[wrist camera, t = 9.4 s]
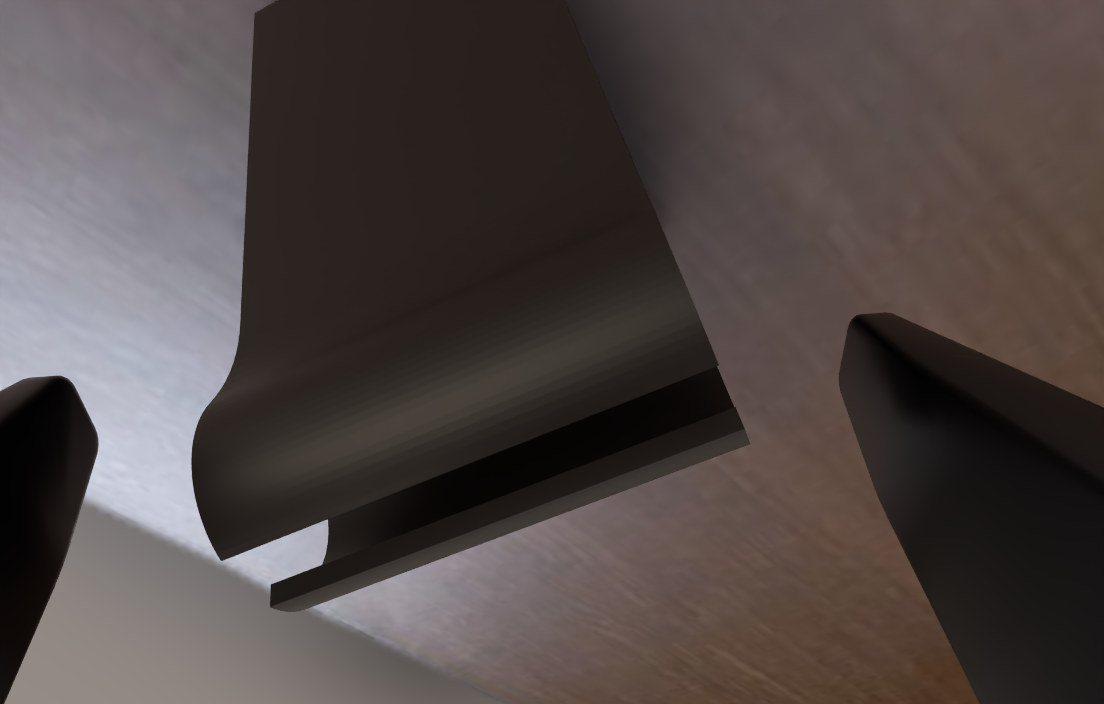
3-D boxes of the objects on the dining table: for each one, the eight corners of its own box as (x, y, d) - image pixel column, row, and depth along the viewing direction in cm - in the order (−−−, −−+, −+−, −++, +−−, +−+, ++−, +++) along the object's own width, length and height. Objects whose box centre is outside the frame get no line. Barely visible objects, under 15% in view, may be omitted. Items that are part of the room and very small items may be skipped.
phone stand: (258, 6, 17) (-82, 276, 7) (513, -128, 16) (561, -48, 6) (456, 328, 21) (430, 762, 11) (661, 242, 20) (828, 637, 10)
